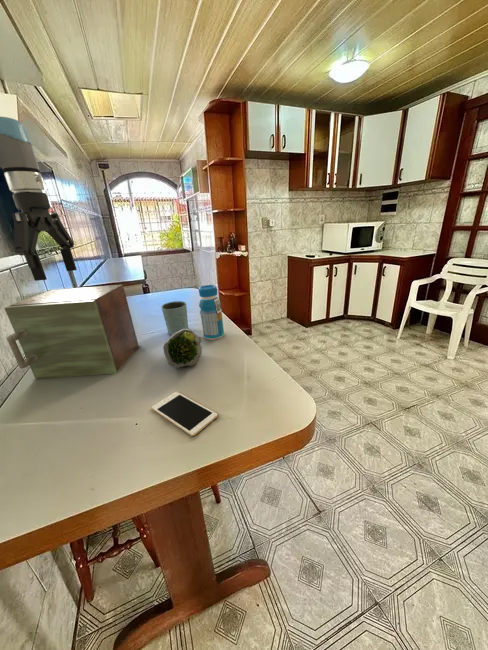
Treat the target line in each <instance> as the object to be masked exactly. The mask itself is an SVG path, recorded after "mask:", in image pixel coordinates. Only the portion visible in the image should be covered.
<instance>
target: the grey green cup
mask: <svg viewBox="0 0 488 650" xmlns="http://www.w3.org/2000/svg"><path fill="white" fill-rule="evenodd" d="M161 311H162V315H163V319H164V321H165V326H166V329H167V333H168V335H170V336H172V335H173V334H174V333H176V332H178V331H180V330H183V329H189V320H188V319H189V318H188V306H187V302H186V301H183V300H175V301H170V302H166V303H164V304H162V305H161Z"/></svg>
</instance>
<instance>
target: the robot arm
mask: <svg viewBox="0 0 488 650" xmlns="http://www.w3.org/2000/svg"><path fill="white" fill-rule="evenodd" d="M0 169H1V170H2V172H3V175H4V178H5V181H6V183H7V186H8V189H9V191H10V192H12V195H11V197H12V199H13V202H14V206H15V207H16V209H17V210H19V212H12V213H11V215H12V216H11V217H12V219H13V224H14V225H13V227H14V231H13V232H14V233H13V234H14V235H13V236H14V241H13V242H14V243H13V245H14V249H13V250H14V253H15V254H17V255H19V256H20V257H21V256H22V257H24V258H25V262H26V264H27V266H28V268H29V269H30V272H31V274H32V277H33V279H34V281H35V282H37V281H46V280H48V278H47V276H46V273H45V270H44V267H43V265H42V261H41V259H40V256H39V254H38V253H37V254H36V248H37V244H38V239H39V235H40V233H42V232H44V233H47V234H48V235H49V236H50V237H51V239H53V241H55V242H56V243H57V245H58V246H59V247H60V249H59V251H60V255H61V258H62V261H63V263H64V267H65V270H66V272H73V271H77V270H78V269H77V266H76V263H75V260H74V255H73V252H72V250H71V249H74V247H75V246H74V245H75V242H74V240H73V238H72V237H71V236H70V234H69V232H68V231H67V229H66V228H65V226H64V224H63V223H62V221H61V218H60V216H59V213H58V212H52V213H51V212H50V211H49V210H51V209H52V203H51V201H50V197H49V195H48V194H47V192H46V191H47V188H46V186H45V183H44V179H43V176H42V174H41V171H40V167H39V164H38V160H37V157H36V154H35V151H34V147H33V142H32V141H31V138H30V135H29V133H28V130H27V128H26V126H25V124H23V123H22V122H21V121H19V120H17V119H15V118H12V117H7V116H0ZM20 211H21V212H20Z"/></svg>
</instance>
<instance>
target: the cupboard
mask: <svg viewBox="0 0 488 650" xmlns="http://www.w3.org/2000/svg"><path fill="white" fill-rule="evenodd" d="M86 300H96V303H97V306H98V310H99V313H100V316H101V320H102V323H103V326H104V329H105V333H106V336H107V339H108V343H109V346H110V349H111V353H112V356H113V359H114V363H115V366H116V369H117V372H118V371H119V370H120V369H121V368H122V367H123V365H125V363H126V362H127V361H128V359H129V358H130V357H131V355H133V353H135V351H136V350H137V349H138V348H139V342H138V337H137V333H136V331H135V327H134V322H133V318H132V314H131V311H130V306H129V303H128V298H127V295H126V291H125V287H124V284H111V285H97V286H96V285H95V286H85V287H72V288H59V289H50V290H47V291H44V292H42V293H38V294H37V295H36V294H35V295H33V296H31V297H28V298H26V299H23V300H20V301H18V302H15V303H12V304H10V305H8V306H19V305H33V304H46V303H59V302H73V301H86Z"/></svg>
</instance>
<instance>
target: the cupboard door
mask: <svg viewBox="0 0 488 650" xmlns="http://www.w3.org/2000/svg"><path fill="white" fill-rule="evenodd" d="M3 309H4V311H5V313H6V315H7V318H8V320H9V323H10V324H11V327H12V329H13V331H14V332H13V333H12V334H9V335H8V336H5V337H6V338H5V339H6V341H7V343H8V345H9V347H10V350H11V352H12V354H13V357H14V358H15V361H16V363H17V365H18V368H19V369H21V370H22V369H25V368H28V367H29V368H30V370H31V373H32V374H33V377H34V379H52V378H54V379H55V378H67V377H68V378H69V377H81V376H82V377H85V376H100V375H101V376H102V375H115V374H116V373H117V372H118V371H117V369H116V366H115V363H114V359H113V356H112V353H111V349H110V346H109V343H108V339H107V336H106V333H105V329H104V326H103V323H102V320H101V316H100V313H99V310H98V306H97V303H96V300H86V301H73V302H59V303H46V304H33V305H19V306H9V305H8V306H5V307H3ZM17 341H18V343H19V345H20V347H21V350H22V352H23V354H24V356H25V358H24V356H23V355H22V352H21V350H20V348H19V346H18V344H17Z"/></svg>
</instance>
